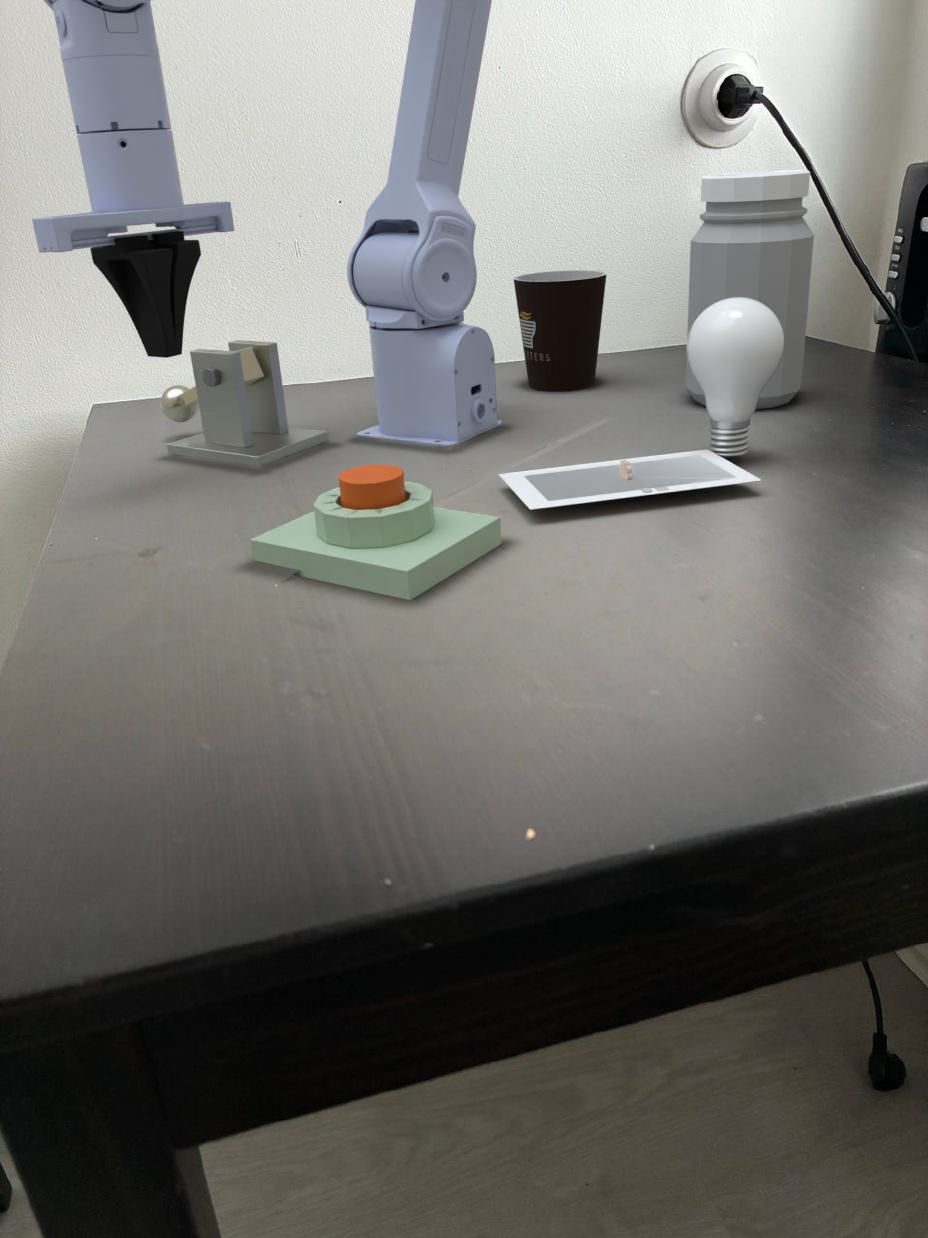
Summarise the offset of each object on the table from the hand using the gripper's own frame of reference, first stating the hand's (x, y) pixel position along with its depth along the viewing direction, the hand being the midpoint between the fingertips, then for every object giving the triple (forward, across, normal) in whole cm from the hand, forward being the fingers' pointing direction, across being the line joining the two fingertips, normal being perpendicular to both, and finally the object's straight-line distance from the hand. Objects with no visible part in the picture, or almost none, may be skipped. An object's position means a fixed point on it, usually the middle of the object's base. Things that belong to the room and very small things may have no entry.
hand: (164, 355), depth 68 cm
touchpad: (+10, -11, +29) cm, 32 cm away
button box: (+9, +5, +21) cm, 24 cm away
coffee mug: (+10, -41, +8) cm, 43 cm away
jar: (+10, -39, +27) cm, 49 cm away
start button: (+6, +5, +21) cm, 22 cm away
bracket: (+9, -9, -3) cm, 13 cm away
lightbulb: (+10, -20, +33) cm, 40 cm away
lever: (+6, -9, -6) cm, 13 cm away
